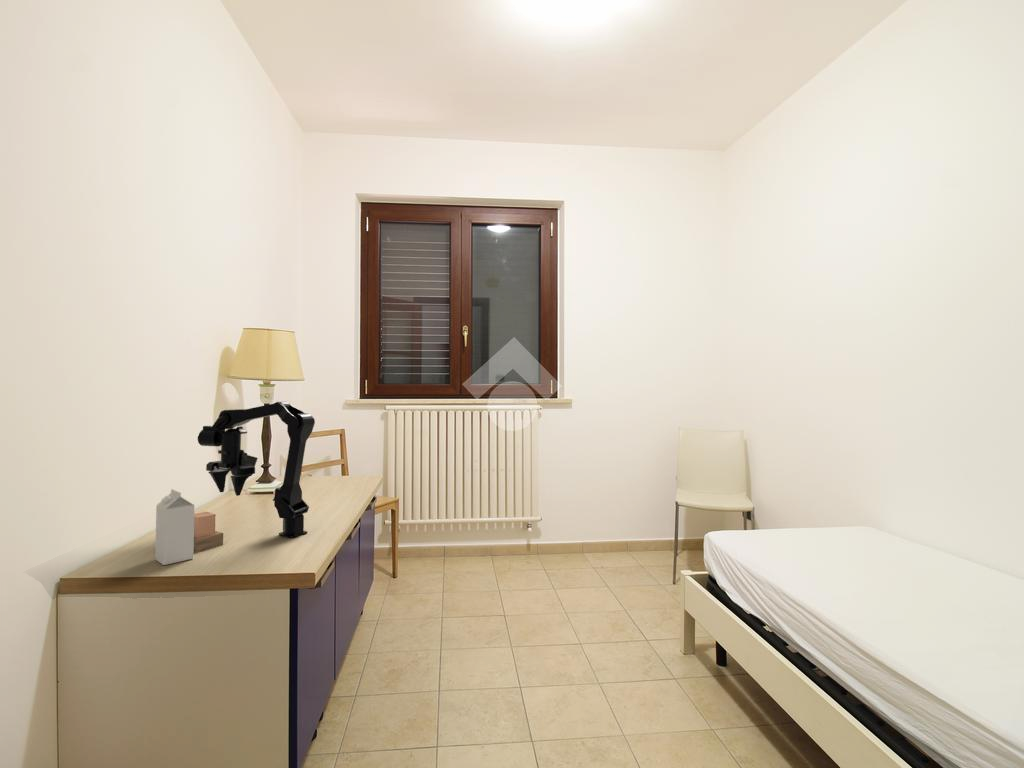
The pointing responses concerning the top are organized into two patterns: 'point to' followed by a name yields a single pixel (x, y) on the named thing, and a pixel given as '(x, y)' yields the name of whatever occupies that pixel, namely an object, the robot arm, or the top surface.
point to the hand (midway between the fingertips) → (229, 493)
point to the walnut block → (208, 542)
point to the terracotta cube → (204, 524)
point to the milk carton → (174, 529)
